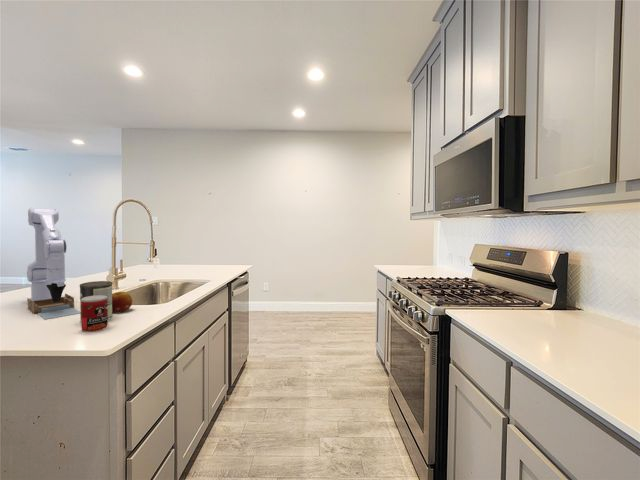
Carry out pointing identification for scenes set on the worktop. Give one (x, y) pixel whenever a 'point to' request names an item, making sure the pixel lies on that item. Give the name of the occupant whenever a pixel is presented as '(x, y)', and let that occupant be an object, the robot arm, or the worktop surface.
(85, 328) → the canned food
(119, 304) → the fruit
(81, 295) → the coffee can
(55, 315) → the lid
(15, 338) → the worktop surface
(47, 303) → the box
